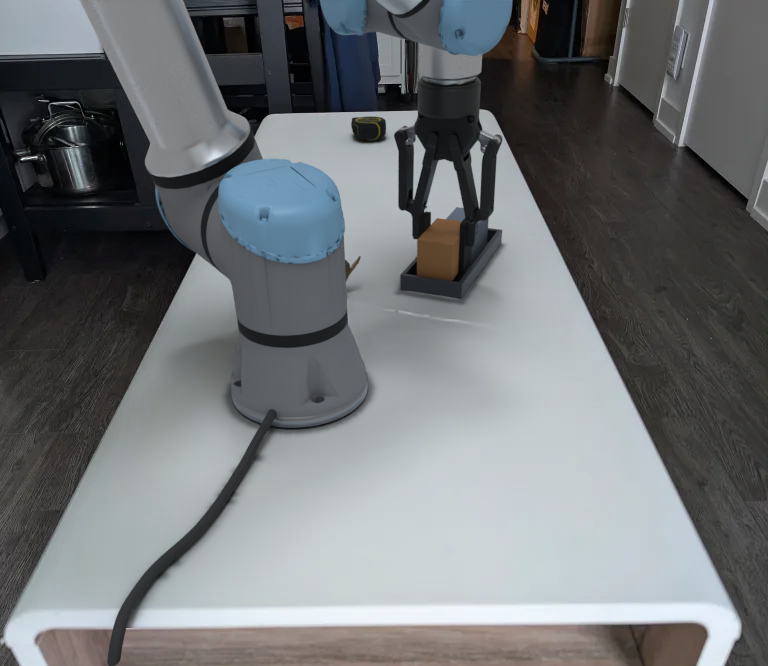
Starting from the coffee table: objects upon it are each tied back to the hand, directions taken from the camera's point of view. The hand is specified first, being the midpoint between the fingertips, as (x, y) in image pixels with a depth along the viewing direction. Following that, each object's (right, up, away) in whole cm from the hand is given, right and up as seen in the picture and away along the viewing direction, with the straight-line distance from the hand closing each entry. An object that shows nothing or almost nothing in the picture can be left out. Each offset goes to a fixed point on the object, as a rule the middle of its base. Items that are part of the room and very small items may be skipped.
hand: (443, 264), depth 109 cm
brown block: (0, 0, 0) cm, 0 cm away
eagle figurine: (-17, -3, +1) cm, 17 cm away
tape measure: (-12, +42, +53) cm, 69 cm away
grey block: (+3, +4, +7) cm, 9 cm away
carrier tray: (+2, +1, +5) cm, 5 cm away
